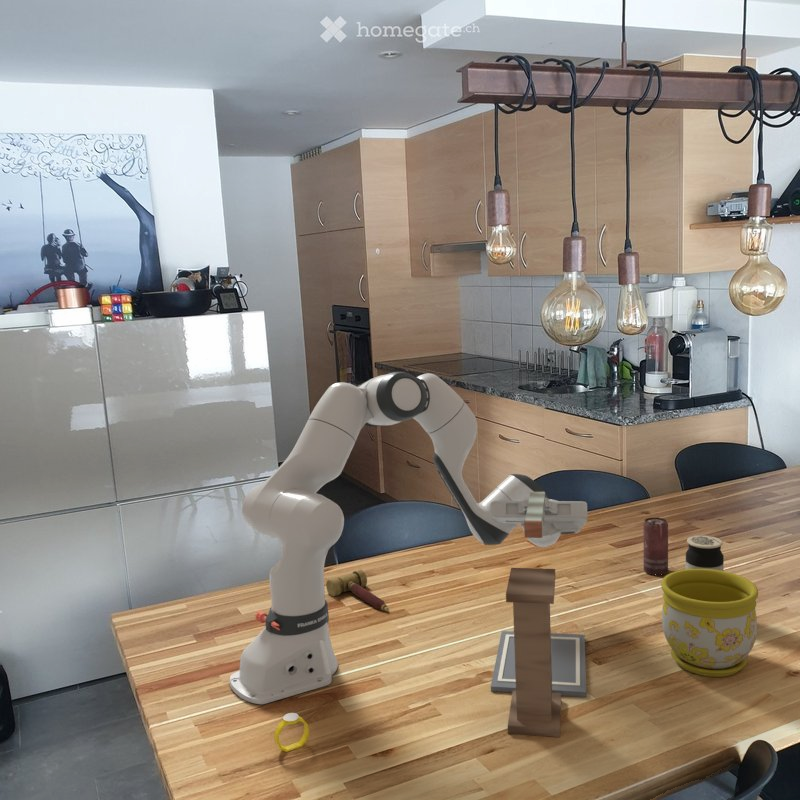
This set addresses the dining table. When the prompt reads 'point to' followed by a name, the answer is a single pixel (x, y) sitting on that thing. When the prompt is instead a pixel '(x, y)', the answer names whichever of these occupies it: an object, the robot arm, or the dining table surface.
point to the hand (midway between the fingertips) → (536, 503)
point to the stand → (533, 654)
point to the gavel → (355, 588)
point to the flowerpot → (709, 620)
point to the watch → (291, 719)
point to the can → (655, 546)
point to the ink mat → (563, 660)
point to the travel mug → (704, 553)
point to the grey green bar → (534, 515)
